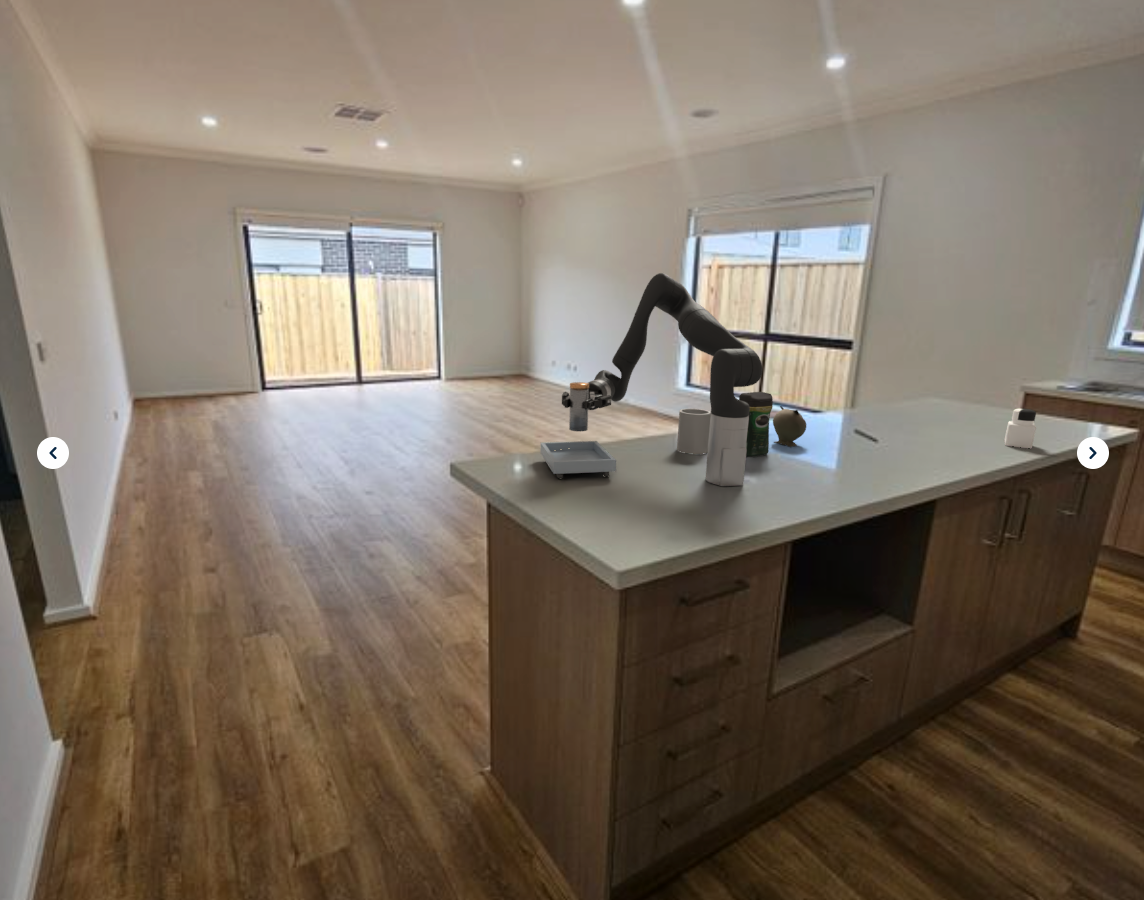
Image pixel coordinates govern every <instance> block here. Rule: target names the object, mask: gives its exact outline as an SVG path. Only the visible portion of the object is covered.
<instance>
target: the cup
mask: <svg viewBox="0 0 1144 900" xmlns="http://www.w3.org/2000/svg"><path fill="white" fill-rule="evenodd" d="M678 413H679V414H678V425H677V426H678V428H677V441H676V443H677V444H676V451H677V450H679V451H681V452H685V453H693V454H700V455H704V454H703V453H706V454H707V452H708V440H709V428H710V416H711V410H706V409H700V408H681V409H679V411H678ZM679 451H678V452H679ZM681 452H680V453H681ZM685 453H684V454H685ZM693 454H692V455H693Z"/></svg>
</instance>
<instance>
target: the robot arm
mask: <svg viewBox="0 0 1144 900" xmlns="http://www.w3.org/2000/svg"><path fill="white" fill-rule="evenodd" d="M655 308H657V309H659V310H660V311H662V312H664V313H666V314H667V315H670V316H671V317H672V318H674V320H675V321H677V327H678V330H679V332H680V333H681V334H680V335H681V336H682V337H684V339H685V340H686V341H687V342H688V343H689V344H690V346H692V347H693V348H695V349H696V350H699V352H702V353H705V354H707V355H710V356H711V357H712V360H711V364H710V375H709V377H710V378H709V379H710V380H709V382H710V383H709V385H710V386H709V403H710V412H711V416H710V428H709V440H708V452H707V453H706V468H705V481H706V482H708V483H710V484H714V485H718V486H720V487H734V486H744V481H745V480H744V479H745V469H746V461H747V460H746V459H747V456H746V452H747V449H746V441H747V431H748V421H749V411H750V406H749V404H748V403H746V402H743V401H741V400H739V398H736V397H735V392H734V391H735V390H734V388H742V387H743V388H745V387H750V386H753V385H755V384H757V383H758V382H759V381H760V380H761V378H762V375H763V364H762V360H761V358H760V355H758V354H757V353H756V351H755V350H754V349H752V348H751V347H750V346H748V345H747V344H746V343H744V342H743V341H741V340H740V339H738V338H737V337H735V335H733V334H732V332H730V331H729V330H728V329H727V328H726V327H725V326H724V325H722V324H721V323H720V322H719V321H718V320H717V318H716V317H715V316H713V314H712V313H711V312H710V311H709V310H707V309H706V308H705V307H704V306H702V305H701V304H698V303H697V302H696V301H695V300H694V298H693V297H692V295H691V294H690V293H689V291H688V290H687V289H686V288H685V286H684V285H683V284H682V283H681V282H679V281H678V280H675V279H674V278H673V277H671V276H669V275H668V274H666V273H664V272H660V273H657V274H655V275H654V276H653V277H651V279H650V280H649V282H648V283H647V285H646V287H645V289H644V291H643V293H642V296H641V298H640V300H639V303H638V306H637V308H636V310H635V313H634V316H633V318H632V320H631V324H630V325H629V328H628V331H627V333H626V335H625V337H624V339H623V341H622V342H621V343H620V345H619V347H618V349H617V350H616V353H615V354H614V356H613V357H612V364H613V365H614V366H615V367H616V368H617V369H618V370H619V372H620V376H617V375H616V374H614V373H612V372H610V371H609V370H606V369H602V370H600V371H598V373H597V374H596V375H595V377H594V379H592V380H590V381H588V382H587V383H589V399H588V400H586V401H585V409H586V410H588V411H594V410H597V409H602V408H606V407H610V406H611V405H612V402H614V403H616V402H619V401H622V400H623V399H624V397H625V396H626V393H627V392H628V387H629V383H630V379H631V377H632V373H633V372H634V370H635V367H636V365H638V362H639V361H640V359H641V357H642V356H643V354H644V352H645V350H646V345H647V337H648V326H649V320H650V317H651V314H652V312H653V311H654V309H655ZM561 405H562V406H563V407H564V408H565V409H568V408H570V392H567V391H563V392H562V393H561Z"/></svg>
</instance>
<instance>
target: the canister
mask: <svg viewBox="0 0 1144 900" xmlns="http://www.w3.org/2000/svg"><path fill="white" fill-rule="evenodd" d="M569 391H570V392H569V395H570V407H569V421H568V422H569V425H568V426H569V427H568V429H569V431H571V432H587V431H588V428H589V426H588V425H589V410H586V409H585V401H586V400H588V399H589V383H588V382H580V381H579V382H578V381H577V382H576V381H575V382H574V381H573V382H570V383H569Z"/></svg>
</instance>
